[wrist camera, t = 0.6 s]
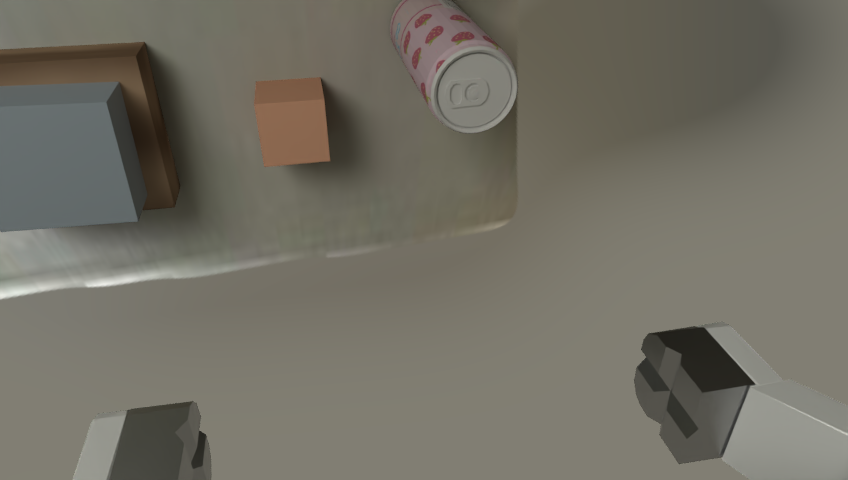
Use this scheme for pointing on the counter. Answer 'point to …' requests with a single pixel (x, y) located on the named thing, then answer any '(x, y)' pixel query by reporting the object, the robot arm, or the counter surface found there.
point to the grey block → (67, 157)
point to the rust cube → (291, 121)
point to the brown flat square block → (137, 90)
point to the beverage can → (454, 64)
